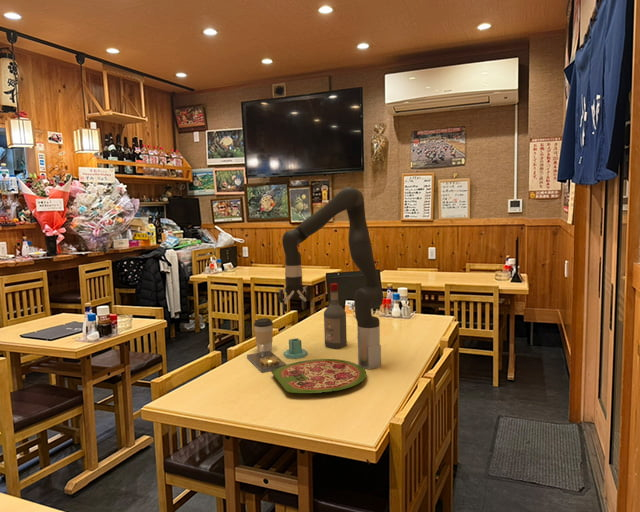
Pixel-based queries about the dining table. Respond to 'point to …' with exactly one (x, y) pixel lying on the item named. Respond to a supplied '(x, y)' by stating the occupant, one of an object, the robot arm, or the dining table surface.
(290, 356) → the teal flanged hub
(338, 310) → the liquor
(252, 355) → the plate
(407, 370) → the dining table surface
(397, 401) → the dining table surface
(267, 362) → the sun gear
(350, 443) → the dining table surface
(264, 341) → the coffee cup
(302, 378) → the pizza
